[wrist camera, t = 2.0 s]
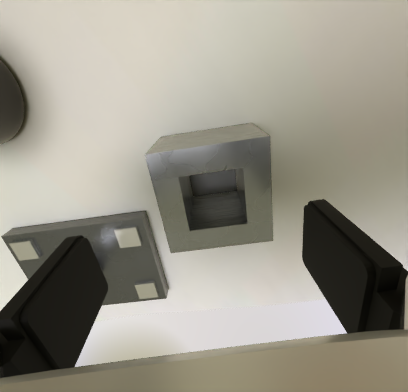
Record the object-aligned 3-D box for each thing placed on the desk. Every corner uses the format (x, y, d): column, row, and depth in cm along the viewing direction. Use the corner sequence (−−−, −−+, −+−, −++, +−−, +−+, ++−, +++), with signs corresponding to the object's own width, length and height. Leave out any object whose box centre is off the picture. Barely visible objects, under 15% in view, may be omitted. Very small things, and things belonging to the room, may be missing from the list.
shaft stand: (145, 210, 19) (121, 260, 14) (168, 288, 23) (156, 352, 17) (12, 228, 20) (-63, 282, 14) (55, 300, 24) (9, 366, 18)
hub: (251, 122, 16) (269, 135, 12) (256, 204, 19) (272, 240, 15) (161, 136, 17) (144, 154, 12) (178, 214, 19) (170, 253, 15)
